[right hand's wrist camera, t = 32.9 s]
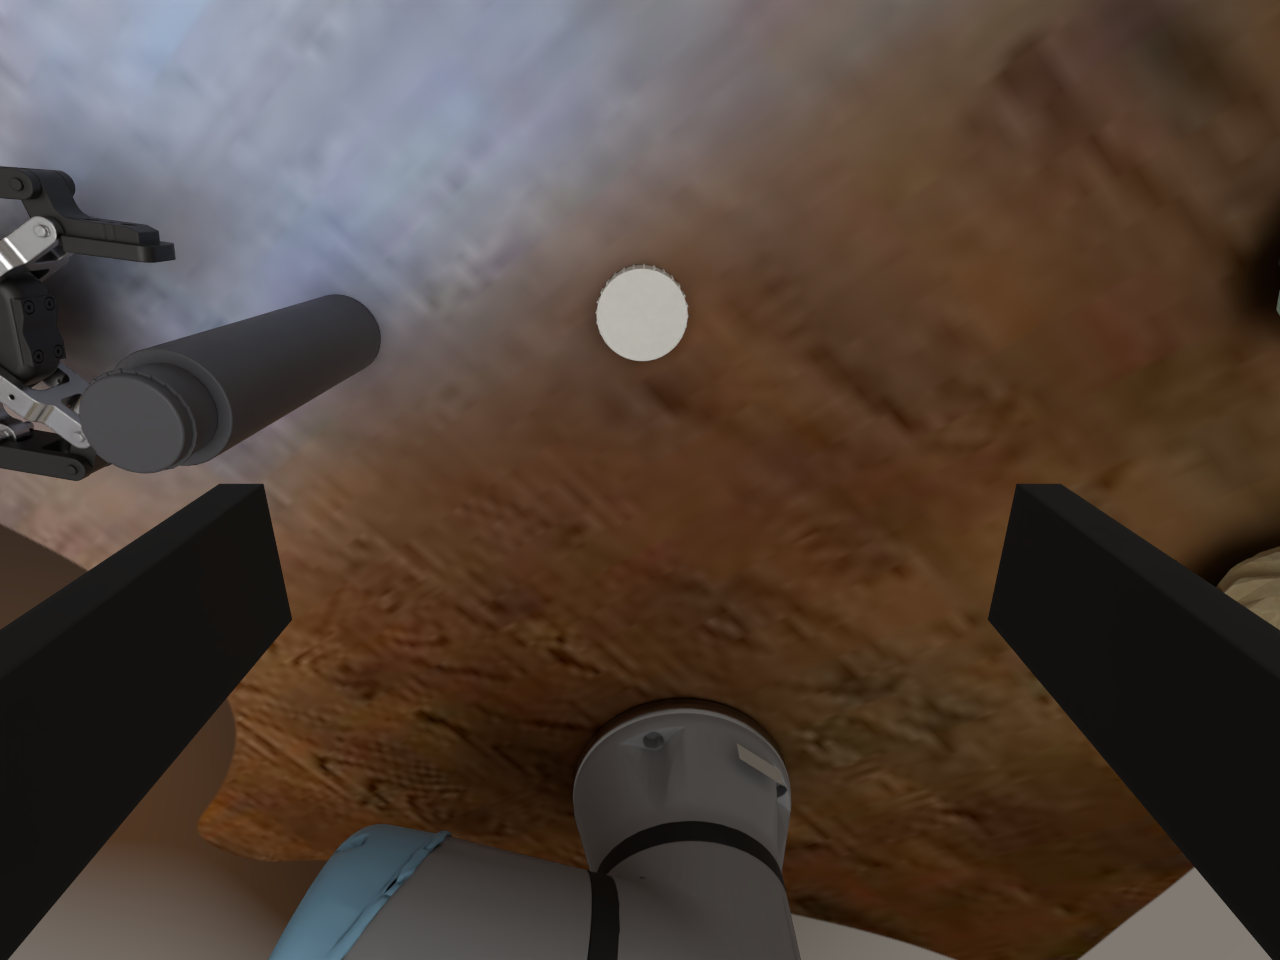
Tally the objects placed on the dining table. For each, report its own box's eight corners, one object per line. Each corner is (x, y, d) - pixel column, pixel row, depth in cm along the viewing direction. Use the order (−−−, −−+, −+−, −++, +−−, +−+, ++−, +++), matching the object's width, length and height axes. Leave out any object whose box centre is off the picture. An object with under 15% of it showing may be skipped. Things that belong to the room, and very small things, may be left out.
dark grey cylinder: (337, 277, 38) (112, 332, 22) (396, 338, 39) (225, 433, 23) (286, 329, 39) (35, 419, 23) (346, 387, 40) (147, 511, 24)
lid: (585, 279, 38) (582, 283, 36) (672, 251, 37) (674, 254, 35) (613, 364, 40) (611, 373, 37) (696, 339, 39) (699, 347, 37)
